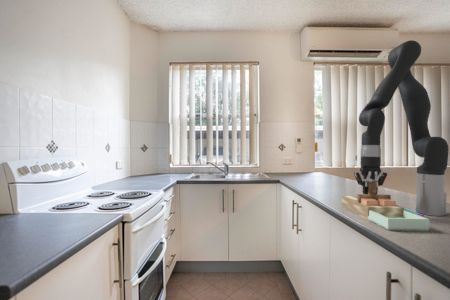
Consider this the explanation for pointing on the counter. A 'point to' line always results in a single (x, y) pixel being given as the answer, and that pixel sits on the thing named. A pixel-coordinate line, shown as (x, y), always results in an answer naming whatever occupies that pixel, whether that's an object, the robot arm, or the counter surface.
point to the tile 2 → (386, 202)
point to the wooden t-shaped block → (372, 193)
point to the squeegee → (413, 212)
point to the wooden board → (370, 208)
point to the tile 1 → (369, 201)
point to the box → (400, 222)
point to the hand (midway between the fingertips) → (369, 195)
